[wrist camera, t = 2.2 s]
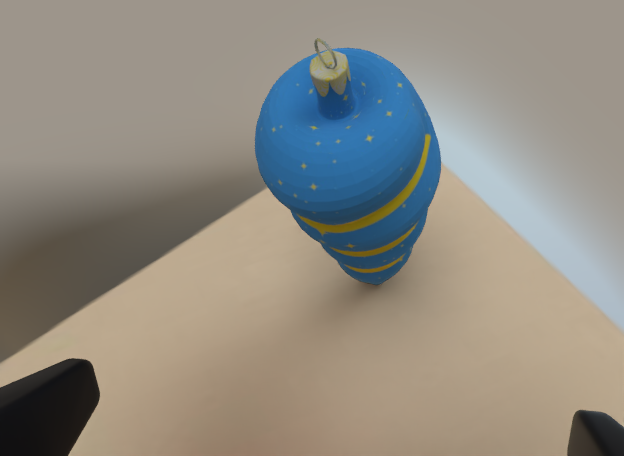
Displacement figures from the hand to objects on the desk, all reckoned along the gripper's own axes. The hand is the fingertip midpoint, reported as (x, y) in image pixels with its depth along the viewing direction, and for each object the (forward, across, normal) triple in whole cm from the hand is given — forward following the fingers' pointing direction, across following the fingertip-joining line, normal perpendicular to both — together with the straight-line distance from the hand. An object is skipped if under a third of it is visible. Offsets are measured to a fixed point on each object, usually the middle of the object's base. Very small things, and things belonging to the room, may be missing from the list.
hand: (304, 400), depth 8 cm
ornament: (+14, 0, +5) cm, 15 cm away
